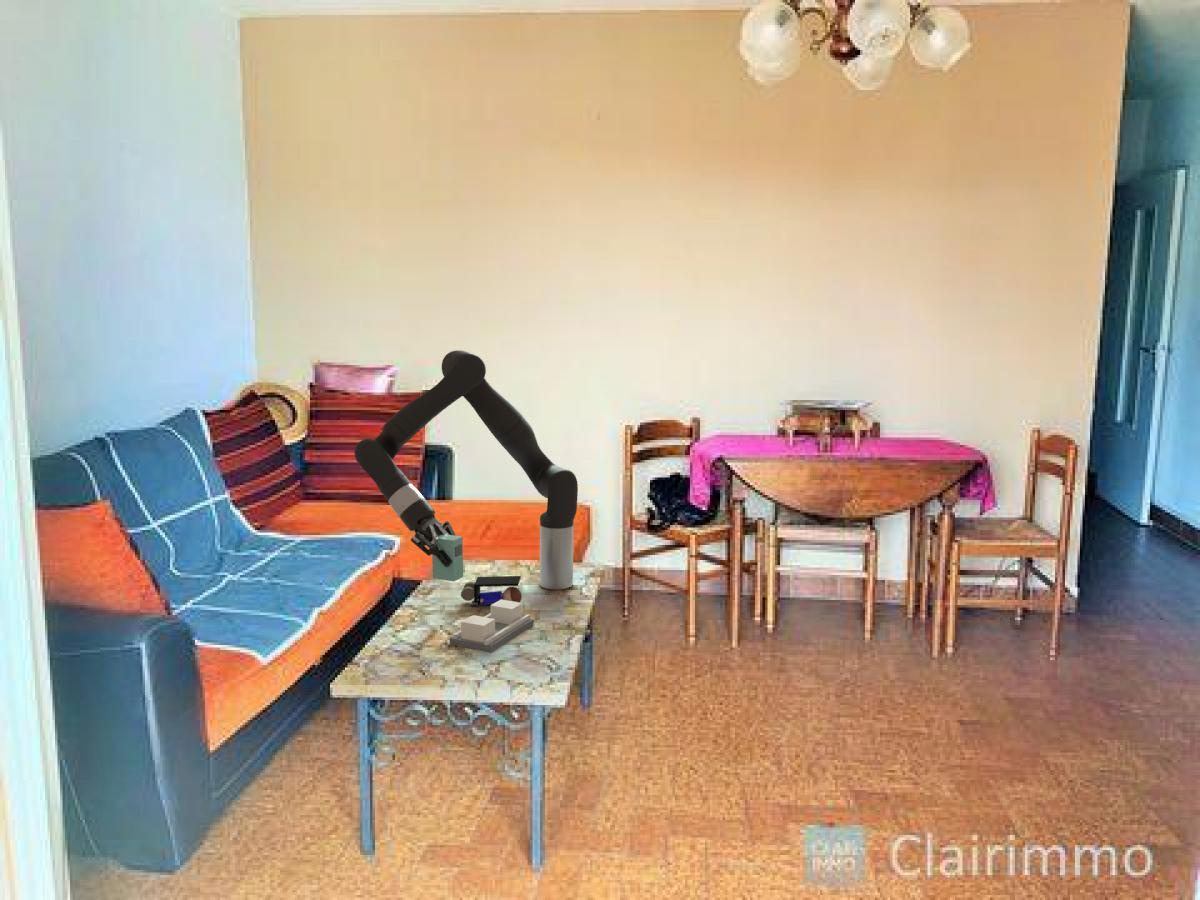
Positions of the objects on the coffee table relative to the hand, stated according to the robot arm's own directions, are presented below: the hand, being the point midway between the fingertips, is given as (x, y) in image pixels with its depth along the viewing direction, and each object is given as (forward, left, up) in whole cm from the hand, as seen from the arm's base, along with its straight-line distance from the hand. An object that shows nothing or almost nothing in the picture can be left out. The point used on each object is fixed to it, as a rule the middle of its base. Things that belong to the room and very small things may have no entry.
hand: (454, 562), depth 227 cm
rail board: (+7, +8, -17) cm, 19 cm away
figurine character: (-14, +13, -17) cm, 25 cm away
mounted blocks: (+7, +8, -15) cm, 18 cm away
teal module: (-1, -1, -4) cm, 5 cm away
